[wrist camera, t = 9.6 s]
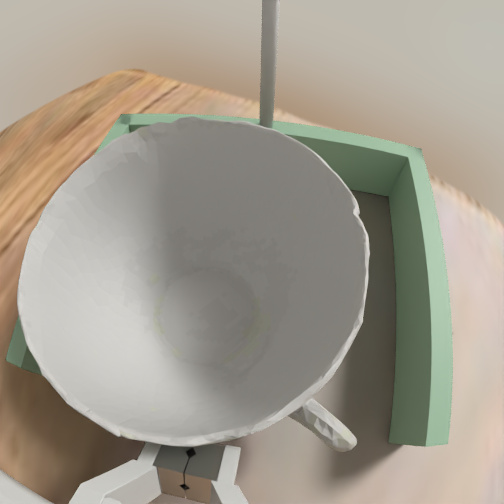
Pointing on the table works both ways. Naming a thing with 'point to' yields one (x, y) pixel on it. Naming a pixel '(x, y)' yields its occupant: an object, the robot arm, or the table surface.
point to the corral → (404, 241)
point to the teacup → (197, 284)
